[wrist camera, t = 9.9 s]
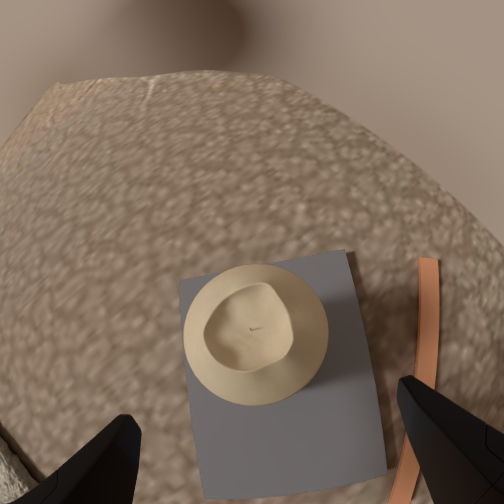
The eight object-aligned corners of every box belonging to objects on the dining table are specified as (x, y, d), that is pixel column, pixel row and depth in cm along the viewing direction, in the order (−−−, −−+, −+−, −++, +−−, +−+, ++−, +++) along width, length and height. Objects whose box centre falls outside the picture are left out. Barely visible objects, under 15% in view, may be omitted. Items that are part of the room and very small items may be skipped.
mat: (384, 471, 15) (387, 474, 14) (208, 495, 16) (204, 499, 15) (343, 253, 22) (344, 249, 21) (182, 283, 23) (178, 280, 22)
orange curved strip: (407, 501, 13) (409, 503, 13) (388, 502, 14) (389, 505, 13) (435, 261, 20) (437, 259, 20) (418, 259, 20) (420, 257, 20)
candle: (257, 297, 20) (221, 224, 11) (331, 335, 19) (360, 290, 10) (215, 368, 19) (140, 351, 10) (289, 410, 17) (278, 440, 8)
